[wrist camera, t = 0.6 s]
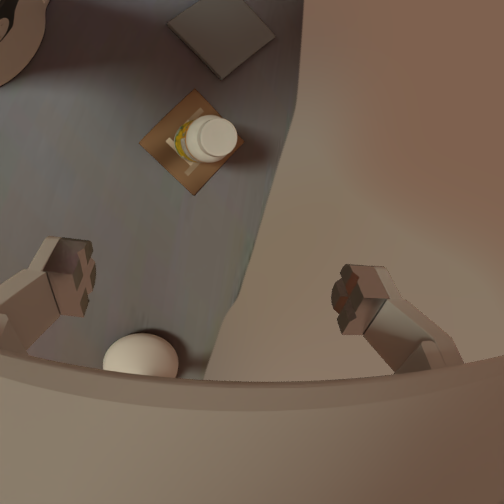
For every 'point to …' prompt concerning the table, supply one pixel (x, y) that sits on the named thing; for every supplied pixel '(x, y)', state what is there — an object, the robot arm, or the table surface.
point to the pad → (221, 33)
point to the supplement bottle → (205, 139)
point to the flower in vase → (142, 356)
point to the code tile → (164, 151)
